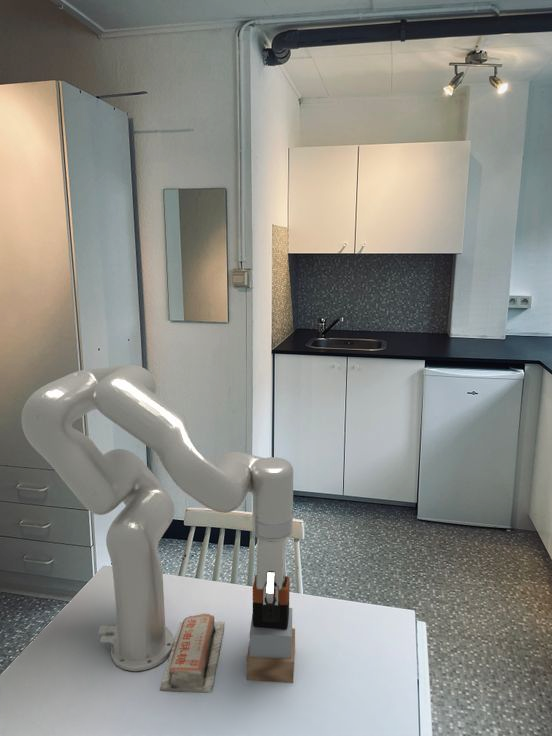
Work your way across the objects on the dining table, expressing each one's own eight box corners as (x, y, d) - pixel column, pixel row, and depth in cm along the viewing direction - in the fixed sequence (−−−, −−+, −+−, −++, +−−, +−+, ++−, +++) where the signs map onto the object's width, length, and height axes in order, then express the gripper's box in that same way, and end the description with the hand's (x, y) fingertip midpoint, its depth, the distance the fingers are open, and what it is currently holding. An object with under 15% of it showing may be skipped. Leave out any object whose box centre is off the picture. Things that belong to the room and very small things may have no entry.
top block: (249, 656, 103) (249, 634, 102) (253, 627, 111) (253, 606, 109) (291, 658, 102) (291, 636, 101) (292, 629, 110) (292, 608, 109)
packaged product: (211, 673, 99) (158, 671, 100) (212, 695, 100) (159, 693, 101) (224, 608, 117) (179, 607, 117) (225, 627, 118) (180, 626, 118)
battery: (287, 630, 103) (288, 585, 100) (252, 628, 103) (252, 582, 101) (289, 615, 107) (289, 571, 105) (255, 612, 108) (255, 568, 105)
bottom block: (246, 681, 103) (246, 659, 102) (251, 646, 112) (251, 626, 111) (293, 683, 103) (293, 661, 102) (294, 649, 112) (295, 628, 110)
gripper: (256, 501, 108) (256, 575, 112) (248, 549, 92) (248, 634, 96) (293, 502, 108) (292, 576, 112) (291, 550, 91) (290, 636, 95)
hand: (272, 603), depth 104 cm, fingers open, 9 cm apart
